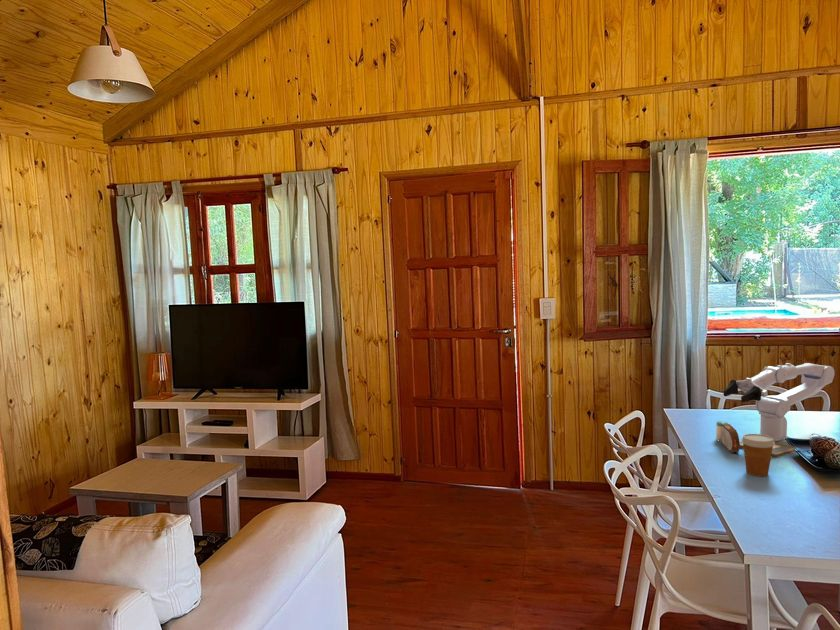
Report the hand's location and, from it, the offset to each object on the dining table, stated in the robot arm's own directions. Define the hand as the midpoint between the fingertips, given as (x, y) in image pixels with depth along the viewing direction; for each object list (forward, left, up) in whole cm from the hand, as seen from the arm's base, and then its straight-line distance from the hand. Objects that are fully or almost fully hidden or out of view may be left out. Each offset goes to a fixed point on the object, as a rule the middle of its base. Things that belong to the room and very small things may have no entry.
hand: (732, 396), depth 227 cm
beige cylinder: (-3, -6, -19) cm, 20 cm away
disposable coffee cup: (+19, +23, -19) cm, 36 cm away
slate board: (-7, +9, -19) cm, 22 cm away
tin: (+4, +2, -19) cm, 20 cm away
